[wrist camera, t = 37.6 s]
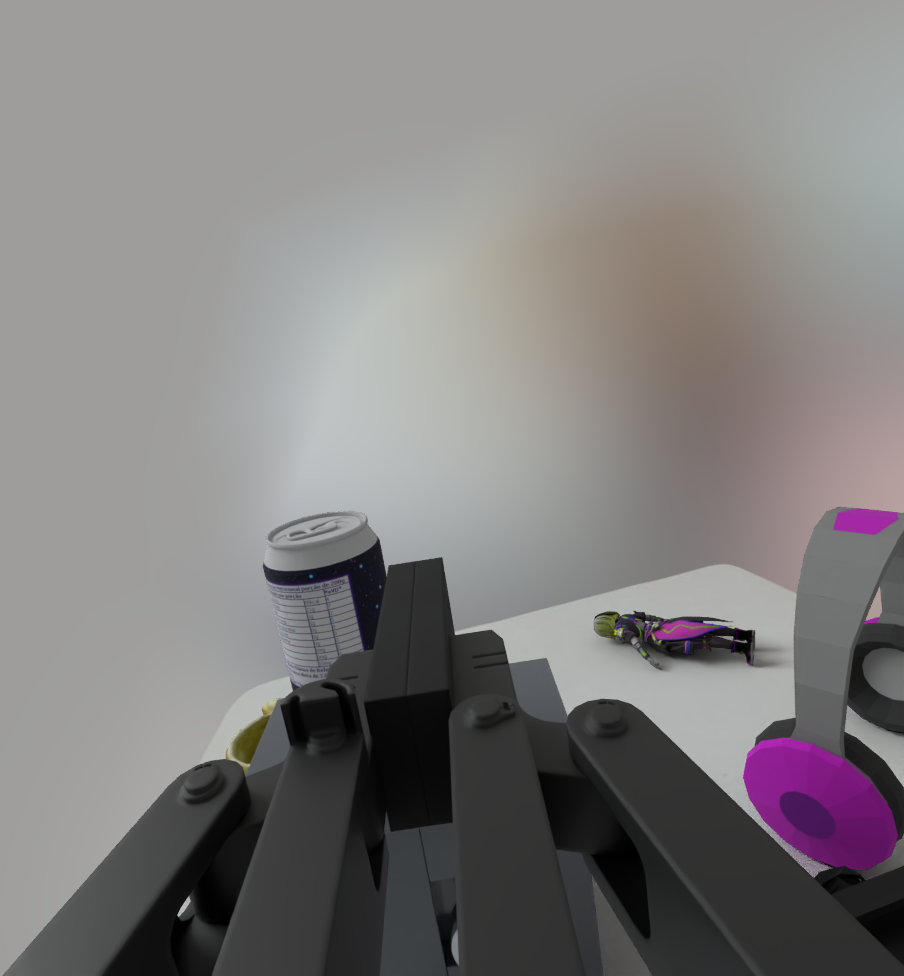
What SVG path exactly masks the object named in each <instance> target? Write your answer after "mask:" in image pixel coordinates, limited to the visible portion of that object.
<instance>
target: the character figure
mask: <svg viewBox="0 0 904 976" xmlns="http://www.w3.org/2000/svg"><path fill="white" fill-rule="evenodd" d="M634 612H635V614H625V615H622V616H620V614H618V613H617V612H610V611H609V612H604V613H601V614H599V615H597V616H596V617H595V619H594V624H593V625H594V630H595V632H596V633H597V634H598V635H600V636H602V637H607V638H611V639H616V638H619V639H620V640H622V639H621V638H623V639H624V640H625V641H624V642H622V644H623V643H630V644H631V645H634V646H635V648H636V649H637V650H638V651H639V652H640V653H641V655H642V656H643V658H645V659H646V660H648V661H649V662H650V663H651V665H652V666H654V667H656V668H658V669H662V668H661V667H660V666H658V665H659V664H658V663H656V662H654V660H653V659H652V658H651V657H650V655H649V654H648V653H647V651H646V650H645V648H644V646H643V644H642V643H641V642H644V643H648V644H649V645H651V646H652V647H653V648H655V649H656V650H659V651H661V652H665V653H668V652H669V651H676V652H684V653H685V654H688V655H689V654H692V653H694V652H695V650H698V649H702V648H706V649H708V650H711V649H710V648H709V647H714V648H725V649H731V653H734V652H735V653H739V654H743V652H744V654H745V655H746V658H747V663H748V664H749V665H753V659H754V655H753V650H754V648H755V630H747V631H746V630H741V629H738V628H735V629H732V628H729V627H732V626H721V625H714V624H706V623H703V621H722V622H732V621H725V620H720V619H716V618H709V617H679V618H673V619H663V618H660V617H656V616H652V615H645V613H644V612H636V611H634ZM619 616H620V617H619ZM645 621H649V623H648V624H647V623H645ZM653 622H655V623H653ZM608 636H611V637H608ZM711 636H713V637H711ZM716 636H733V637H734V639H733V641H731V640H727V639H724V638H721V637H716ZM612 637H613V638H612ZM615 637H616V638H615ZM620 637H621V638H620ZM734 640H740V641H745V640H746V641H747V642H748V643H741V642H737V641H734ZM741 651H743V652H741Z"/></svg>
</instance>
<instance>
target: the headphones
mask: <svg viewBox="0 0 904 976" xmlns="http://www.w3.org/2000/svg"><path fill="white" fill-rule="evenodd" d="M879 586H880V589H881V602H882V613H881V615H880V617H879V618H874V619H870V620H867V621H865V620H866V617H867V615H868V612H869V609H870V607H871V605H872V602H873V600H874V598H875V595H876V593H877V591H878V588H879ZM794 678H795V714H796V718H792V719H786V720H781V721H775V722H773V723H772V724H771V725H770V726H769V727H767V728H766V729H765V730H764V731H763V732H762V733H761V734H760V735H759V736H757V737H756V742H755V747H754V748H753V749H752V750H751V751H749V752H748V754H747V759H746V764H745V769H744V775H743V779H744V782H745V786H746V789H747V792H748V796H749V799H750V800H751V802H752V803H753V805H754V806H755V808H756V809H757V811H758V812H759V814H760V815H761V817H762V818H763V820H764V821H765V822H766V823H767V824H768V825H769V826H770V827H771V828H772V829H773V830H774V831H775V832H776V833H777V834H778V835H779V836H780V837H782V838H783V839H784V840H785V841H786V842H787V843H789V844H790V845H792V846H793V847H795V848H797V849H798V850H800V851H801V852H803V853H805V854H806V855H808V856H809V857H811V858H813V859H815V860H818V861H821V862H824V863H826V864H829V865H832V866H835V867H840V866H844V865H845V866H847V867H848V868H850V869H865V870H867V869H869V868H871V867H873V866H875V865H876V864H878V863H880V862H882V861H884V860H886V859H887V858H889V857H890V856H891V855H892V852H893V849H894V847H895V844H896V842H897V841H898V840H900V839H902V836H903V834H904V787H903V786H902V784H901V783H900V782H899V780H898V779H897V777H896V776H895V775H894V773H893V772H892V770H891V769H890V768H889V766H888V765H887V764H886V762H885V761H884V760H883V759H882V758H881V757H879V756H878V755H877V754H876V753H874V752H873V751H872V750H871V749H870V748H868V747H867V746H866V745H865V744H863V743H862V742H861V741H860V740H859V739H857V738H856V737H854V736H852V735H850V734H848V733H846V732H845V721H846V710H847V705H848V706H849V707H850V708H851V709H853V710H854V711H855V712H856V713H857V714H858V715H860V716H861V717H862V718H863V719H865V720H867V721H869V722H871V723H874V724H876V725H878V726H880V727H882V728H884V729H886V730H890V731H896V732H902V733H904V513H897V512H889V511H879V510H869V509H859V508H846V507H837V508H835V509H832V510H829V511H827V512H826V513H825V514H824V516H823V517H822V518H821V520H820V521H819V522H818V524H817V525H816V526H815V528H814V530H813V533H812V536H811V538H810V541H809V544H808V546H807V549H806V552H805V554H804V559H803V564H802V569H801V575H800V579H799V585H798V590H797V599H796V612H795V625H794Z"/></svg>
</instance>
